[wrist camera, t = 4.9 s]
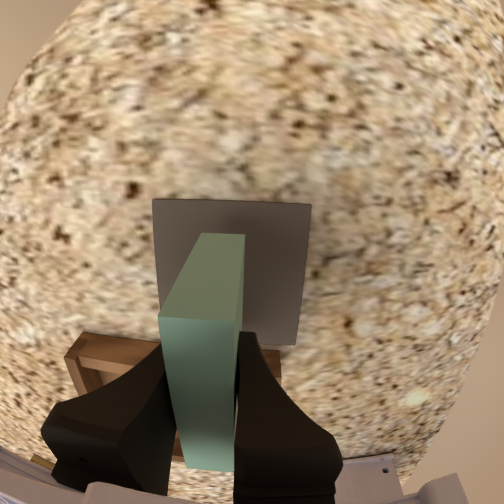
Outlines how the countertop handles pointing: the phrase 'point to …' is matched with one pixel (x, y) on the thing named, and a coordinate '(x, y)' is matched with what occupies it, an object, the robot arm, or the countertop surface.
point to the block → (205, 349)
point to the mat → (255, 256)
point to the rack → (122, 365)
